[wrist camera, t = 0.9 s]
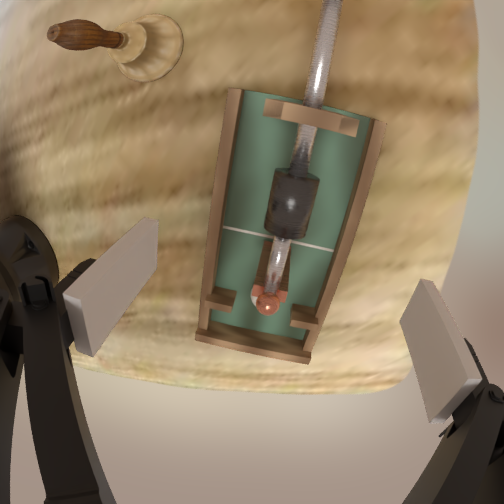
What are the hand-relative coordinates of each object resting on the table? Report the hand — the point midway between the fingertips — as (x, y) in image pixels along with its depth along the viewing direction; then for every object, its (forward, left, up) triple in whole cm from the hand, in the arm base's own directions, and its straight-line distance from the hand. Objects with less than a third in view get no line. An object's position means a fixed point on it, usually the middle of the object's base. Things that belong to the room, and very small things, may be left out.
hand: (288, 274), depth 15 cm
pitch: (0, -7, -20) cm, 21 cm away
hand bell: (-18, +12, -21) cm, 30 cm away
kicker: (0, +4, -19) cm, 19 cm away
